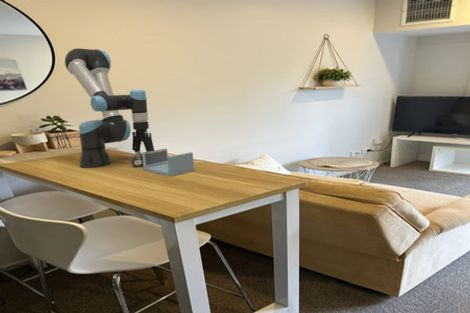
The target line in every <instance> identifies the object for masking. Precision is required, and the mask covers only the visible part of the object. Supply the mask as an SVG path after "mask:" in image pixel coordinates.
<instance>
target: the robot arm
mask: <svg viewBox="0 0 470 313" xmlns="http://www.w3.org/2000/svg"><path fill="white" fill-rule="evenodd" d="M111 63H112V62H111V58H110V56H109V54H108V53H107V52H106V51H105V50H102V49H96V48H95V49H93V48H92V49H91V48H81V47H79V48H73V49H71V50H69V51H68V52H67V54H66V55H65V57H64V66H65V68H66V70H67V71H68V72H69V73H70V75H73V76H74V77H75V79H76V80H77V81H78V82H79V84H80V86H81V87H82V88H83V90H84V91H85V92H86V94H88V96H89V98H90V106H91V109H92V110H93V111H94V112H101V113H102V119H94V120H88V121H84V122H81V123H80V124H79V125H78V126H79V127H78V130H79V131H78V134H79V140H80V146H81V154H80V159H79V167H81V168H97V167H99V168H100V167H103V166H108V165H110V164H111V159H110V157H109V154H108V153H107V150H106V144H112V143H121V142H125V141H127V140H128V139H129V137H130V135H131V133H132V144H131V147H132V148H131V149H132V151H134V154H135V155H137V154H142V152H141V151H142V150H141V147H142V146H141V145H142V143H143V147H144V149H145V152H148V151H154V150H155V147H154V143H153V138H152V132H148V129H150V128H149V121H148V120H149V115H148V113H149V112H148V105H147V99H148V98H147V94H146V91H145V90H143V89H138V90H137V89H136V90H135V89H132V90H130V92H129V94H116V95H115V94H114V93H113V89H112V86H111V85H112V84H111V82H110V79H109V76H108V74H109V73H110V70H111V68H112V65H111ZM125 110H126V111H129V110H131V117H132V128H133V130H135V131H131V124H130V122H129V121H128V120H126V119H124V116H123V115H122V114H120V113H119V111H125Z"/></svg>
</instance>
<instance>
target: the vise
mask: <svg viewBox="0 0 470 313" xmlns="http://www.w3.org/2000/svg"><path fill="white" fill-rule="evenodd" d="M167 161H168V163H163V164H159V165H154V166H149V167H144V166H141V167H142V168H141V170H142V171H143V170H144V172H148V173H153V174H158V175H162V176H166V177H174V176H178V175H182V174H186V173H191V172H194V170H195V167H194V153H193V152H185V153H181V154H175V155H170V156H169V155H168V157H167ZM190 171H191V172H190Z"/></svg>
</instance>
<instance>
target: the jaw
mask: <svg viewBox="0 0 470 313" xmlns="http://www.w3.org/2000/svg"><path fill="white" fill-rule="evenodd" d="M141 154H143V165H144V166H143V167H149V166H154V165H159V164H163V163H168V161H167V157H169V155H168V148H161V149H154V151H148V152H147V151H143V152H141Z"/></svg>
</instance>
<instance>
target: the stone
mask: <svg viewBox="0 0 470 313" xmlns="http://www.w3.org/2000/svg"><path fill="white" fill-rule="evenodd" d="M129 159H130V164H131V165H132V166H133V167H144V165H143V154H142V153H141V154H137V155H132V156H131V157H130V158H129Z"/></svg>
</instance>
